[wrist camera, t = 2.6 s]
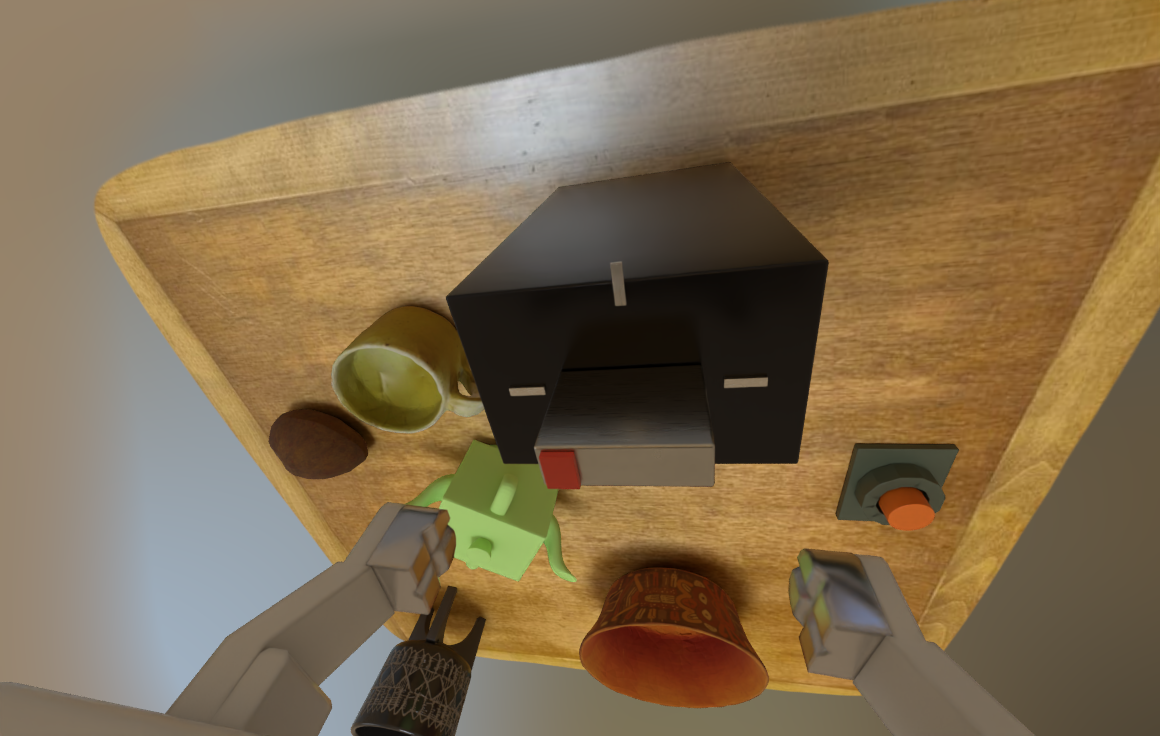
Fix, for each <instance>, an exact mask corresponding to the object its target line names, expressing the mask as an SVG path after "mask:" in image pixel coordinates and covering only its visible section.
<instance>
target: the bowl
mask: <svg viewBox="0 0 1160 736" xmlns="http://www.w3.org/2000/svg"><path fill="white" fill-rule="evenodd" d="M579 654H580V660H581V663H582V665H583V667H584V668H585V669H586V670H587V671H588V672H589V673H590V674H591V675H592V676H593V677H594V678H595V679H596V680H598V681H599V682H601V683H602V684H603V685H605V686H606V687H608V688H610V689H612V690H614V691H615V692H618V693H621V694H624V695H627V696H630V697H633V698H635V699H639V700H642V701H646V702H651V703H656V704H660V705H665V706H674V707H687V708H708V707H724V706H727V705H736V704H740V703H743V702H746V701H749V700H751V699H753V698H755V697H757V696H759V695H760V694H761V693H762V692H763V691H764V690H765V688H766V687H767V685H768V682H769V676H768V673H767V670H766V668H765V666H764V664H763V663H762V661H761V660H760V658H759V656H758V655H757V653H756V652H755V650H754V649H753V647H752V646H751V644H750V642H749V641H748V639H747V637H746V635H745V632H744V630H743V628H742V625H741V623H740V620H739V617H738V613H737V611H736V608H735V606H734V604H733V602H732V600H731V598H730V597H729V596H728V594H727V593H726V592H725V591H724V590H723V589H722V588H721V587H719V586H718V585H716V584H715V583H713V582H712V581H710V580H709V579H707V578H704V577H702V576H700V575H697V574H695V573H692V572H688V571H685V570H680V569H674V568H660V567H655V568H645V569H639V570H636V571H633V572H630V573H627V574H626V575H624V576H622V577H620V578H619V579H617V580H616V581H615V582H614V583H613V585H612V586H611V588H610V590H609V592H608V594H607V596H606V599H605V602H604V605H603V608H602V611H601V614H600V616H599V618H598V620H597V622H596V623H595V625H594V626H593V627H592V629H591V630H590V631H589V632H588V634H587V635H586V636H585V638H584V639H583V641H582V643H581V646H580V651H579Z"/></svg>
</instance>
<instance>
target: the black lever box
mask: <svg viewBox="0 0 1160 736" xmlns="http://www.w3.org/2000/svg"><path fill="white" fill-rule="evenodd" d="M828 264H829V262H828V260H827V259H826V258H825V257H824V256H823V255H822V254H821V253H820V252H819V251H818V250H817V249H816V248H815V247H814V246H813V245H812V244H811V243H810V242H809V241H808V240H807V239H806V238H805V237H804V236H803V235H802V234H801V233H800V232H799V231H798V230H797V229H796V228H795V227H794V226H793V225H792V224H791V223H790V222H789V221H788V220H787V219H786V218H785V217H784V216H783V215H782V214H781V213H780V212H779V211H778V210H777V209H776V208H775V207H774V206H773V205H772V204H771V203H770V202H769V201H768V200H767V199H766V198H765V197H764V196H763V195H762V194H761V193H760V192H759V191H758V189H757V188H756V187H755V186H754V185H753V184H752V183H751V182H750V181H749V180H748V179H747V178H746V177H745V176H744V175H743V174H742V173H741V172H740V171H739V170H738V169H737V168H736V167H735V166H734V165H733V164H732V163H731V162H726V163H719V164H712V165H706V166H699V167H692V168H685V169H678V170H672V171H665V172H658V173H651V174H644V175H638V176H631V177H624V178H617V179H610V180H603V181H597V182H590V183H583V184H576V185H569V186H563V187H559V188H558V189H557V190H556V191H554V192H553V193H552V194H551V195H550V196H549V197H548V198H547V199H546V200H545V201H544V202H543V203H542V204H541V205H540V206H539V207H538V208H537V209H536V210H535V211H534V212H533V213H532V214H531V215H530V216H529V217H528V218H527V219H526V220H525V221H524V222H523V223H521V224H520V225H519V226H518V227H517V228H516V229H515V230H514V231H513V232H512V233H511V234H510V235H509V236H508V237H507V238H506V239H505V240H504V241H503V242H502V243H501V244H500V245H499V246H498V247H497V248H496V249H495V250H494V251H493V252H492V253H491V254H490V255H488V256H487V257H486V258H485V259H484V260H483V261H482V262H481V263H480V264H479V265H478V266H477V267H476V268H475V269H474V270H473V271H472V272H471V273H470V274H469V275H468V276H467V277H466V278H465V279H464V280H463V281H462V282H461V283H460V284H459V285H458V286H457V287H455V288H454V289H453V290H452V291H451V292H450V293H449V294H448V295H447V296H446V300H447V303H448V306H449V309H450V312H451V315H452V317H453V320H454V323H455V326H456V329H457V332H458V335H459V338H460V340H461V343H462V346H463V349H464V352H465V355H466V358H467V360H468V363H469V366H470V369H471V372H472V375H473V378H474V380H475V383H476V386H477V389H478V392H479V395H480V398H481V401H482V403H483V406H484V409H485V412H486V415H487V418H488V421H489V423H490V426H491V429H492V432H493V435H494V438H495V441H496V444H497V446H498V449H499V452H500V455H501V458H502V461H503V463H504V464H538V460H537V457H536V453H535V450H534V446H535V443H536V440H537V437H538V434H539V431H540V429H541V426H542V423H543V420H544V417H545V414H546V411H547V408H548V406H549V403H550V400H551V397H552V394H553V391H554V388H555V386H556V383H557V380H558V377H559V374H560V372H567V371H587V370H607V369H627V368H647V367H667V366H688V365H701V366H702V367H703V373H704V379H705V386H706V392H707V398H708V404H709V411H710V417H711V423H712V430H713V436H714V442H715V464H796V463H798V459H799V453H800V446H801V440H802V433H803V427H804V420H805V414H806V407H807V401H808V394H809V388H810V381H811V375H812V368H813V362H814V355H815V349H816V342H817V336H818V329H819V323H820V316H821V310H822V303H823V296H824V290H825V283H826V277H827V270H828Z"/></svg>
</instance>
